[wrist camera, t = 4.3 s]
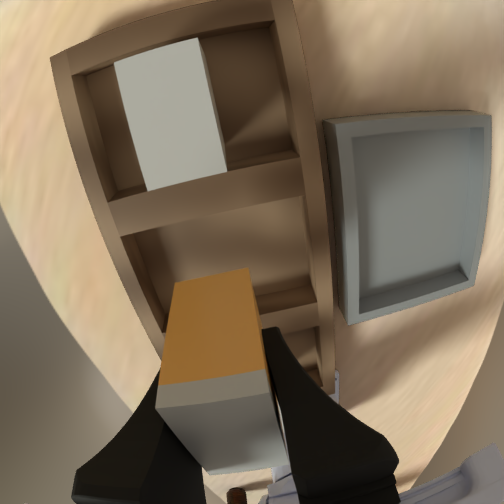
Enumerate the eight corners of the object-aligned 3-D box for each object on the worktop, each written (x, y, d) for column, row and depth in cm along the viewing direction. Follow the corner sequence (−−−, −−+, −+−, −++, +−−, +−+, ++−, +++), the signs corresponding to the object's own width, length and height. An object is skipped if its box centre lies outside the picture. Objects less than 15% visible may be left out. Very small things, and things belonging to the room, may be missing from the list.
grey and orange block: (268, 353, 15) (289, 464, 10) (208, 364, 15) (209, 475, 10) (248, 267, 13) (269, 392, 7) (175, 282, 13) (155, 407, 7)
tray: (459, 271, 23) (473, 285, 22) (338, 306, 24) (347, 325, 22) (470, 110, 17) (491, 115, 15) (322, 119, 17) (335, 124, 15)
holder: (327, 369, 27) (335, 393, 25) (196, 394, 27) (196, 419, 25) (279, 4, 14) (289, -9, 11) (72, 60, 14) (49, 57, 11)
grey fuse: (225, 144, 16) (227, 171, 11) (170, 157, 17) (147, 191, 11) (205, 56, 14) (197, 37, 9) (149, 71, 14) (113, 62, 9)
